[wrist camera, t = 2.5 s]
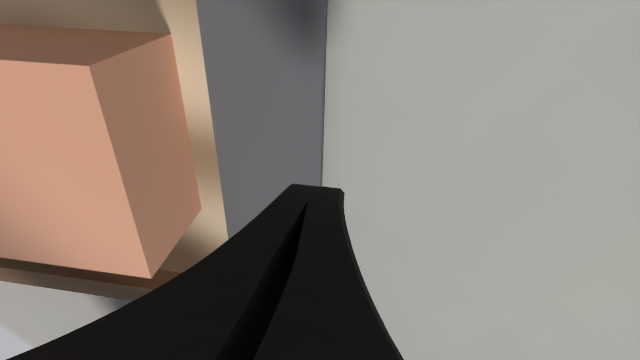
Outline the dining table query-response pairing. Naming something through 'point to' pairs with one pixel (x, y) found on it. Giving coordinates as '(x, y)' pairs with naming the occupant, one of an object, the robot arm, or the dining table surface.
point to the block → (93, 149)
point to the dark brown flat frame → (210, 224)
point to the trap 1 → (264, 97)
